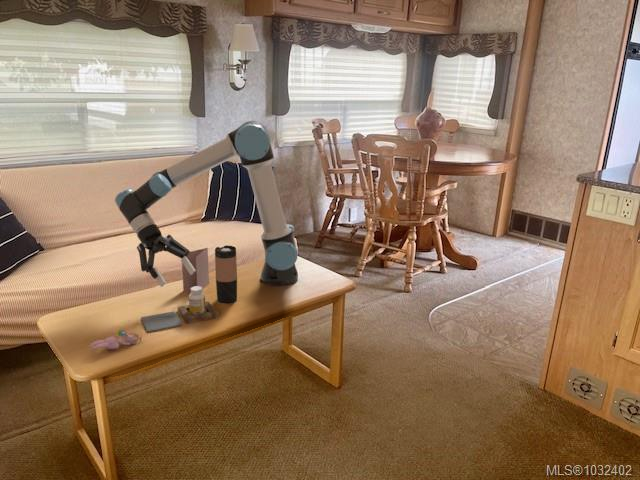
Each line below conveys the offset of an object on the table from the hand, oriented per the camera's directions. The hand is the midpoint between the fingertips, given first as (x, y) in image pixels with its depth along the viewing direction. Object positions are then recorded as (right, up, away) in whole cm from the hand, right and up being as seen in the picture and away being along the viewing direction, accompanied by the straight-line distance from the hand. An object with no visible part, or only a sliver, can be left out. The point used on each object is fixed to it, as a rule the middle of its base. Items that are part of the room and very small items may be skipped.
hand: (178, 278), depth 177 cm
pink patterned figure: (-13, -19, -23) cm, 32 cm away
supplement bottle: (+6, -12, 0) cm, 14 cm away
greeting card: (+3, -6, +21) cm, 22 cm away
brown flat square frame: (+6, -12, 0) cm, 14 cm away
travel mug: (+14, -9, +12) cm, 21 cm away
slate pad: (-4, -14, -6) cm, 16 cm away
